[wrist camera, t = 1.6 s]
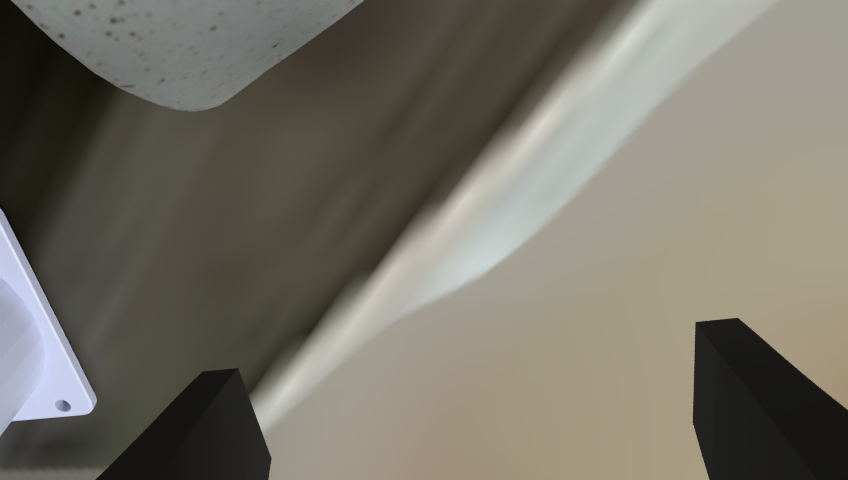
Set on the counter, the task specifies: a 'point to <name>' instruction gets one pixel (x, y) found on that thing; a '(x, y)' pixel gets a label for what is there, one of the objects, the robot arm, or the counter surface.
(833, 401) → the robot arm
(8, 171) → the counter surface
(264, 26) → the ceramic mug
